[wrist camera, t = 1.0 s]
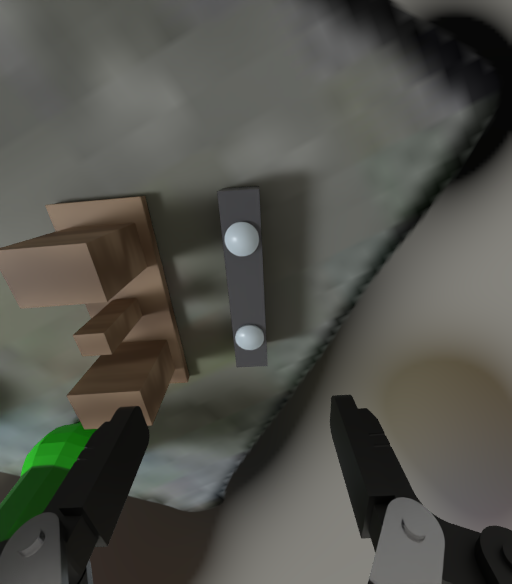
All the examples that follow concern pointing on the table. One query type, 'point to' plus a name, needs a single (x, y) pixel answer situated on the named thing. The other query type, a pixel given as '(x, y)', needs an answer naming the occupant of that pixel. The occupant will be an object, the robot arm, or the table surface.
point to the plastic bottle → (42, 476)
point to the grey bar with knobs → (244, 272)
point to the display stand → (105, 302)
